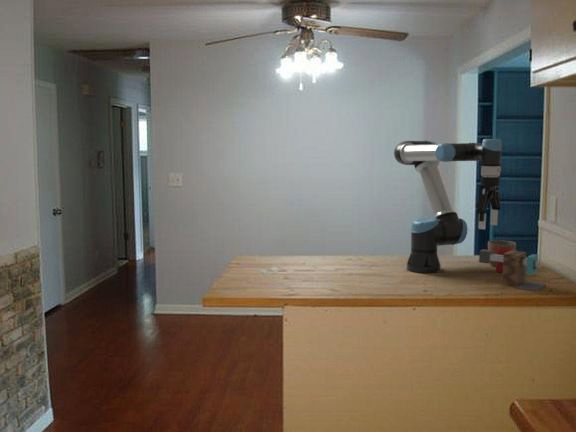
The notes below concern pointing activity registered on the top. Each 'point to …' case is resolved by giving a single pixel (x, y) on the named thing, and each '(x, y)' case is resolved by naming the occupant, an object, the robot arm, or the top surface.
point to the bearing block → (513, 268)
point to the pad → (531, 286)
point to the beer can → (501, 251)
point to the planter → (494, 245)
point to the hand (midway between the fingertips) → (487, 227)
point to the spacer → (531, 264)
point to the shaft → (498, 258)
